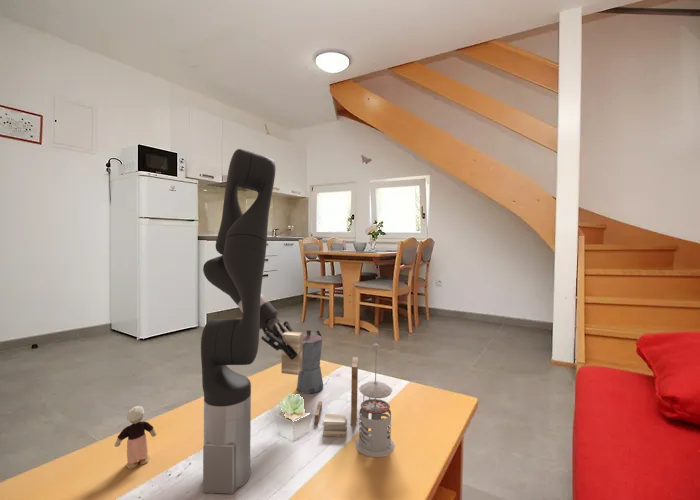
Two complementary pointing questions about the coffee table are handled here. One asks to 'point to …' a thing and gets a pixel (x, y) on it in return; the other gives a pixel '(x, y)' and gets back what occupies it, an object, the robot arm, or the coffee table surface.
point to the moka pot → (311, 364)
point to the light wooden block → (296, 343)
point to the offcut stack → (335, 425)
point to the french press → (375, 419)
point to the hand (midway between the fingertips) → (297, 355)
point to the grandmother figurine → (136, 437)
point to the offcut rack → (353, 396)
